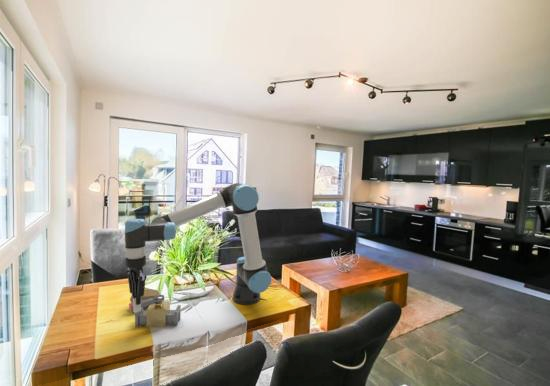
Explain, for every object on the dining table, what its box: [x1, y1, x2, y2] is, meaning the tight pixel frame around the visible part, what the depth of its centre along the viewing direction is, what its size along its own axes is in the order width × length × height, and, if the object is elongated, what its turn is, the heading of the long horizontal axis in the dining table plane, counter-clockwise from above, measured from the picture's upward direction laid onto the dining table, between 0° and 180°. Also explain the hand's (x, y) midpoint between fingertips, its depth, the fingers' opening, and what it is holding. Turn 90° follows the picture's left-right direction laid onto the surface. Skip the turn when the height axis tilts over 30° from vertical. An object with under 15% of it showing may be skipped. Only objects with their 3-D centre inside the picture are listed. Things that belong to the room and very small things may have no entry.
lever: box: [128, 294, 165, 312], centre depth 122 cm, size 14×5×2 cm, turn 135°
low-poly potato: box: [129, 287, 161, 309], centre depth 139 cm, size 15×11×12 cm
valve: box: [134, 301, 182, 328], centre depth 126 cm, size 18×7×10 cm, turn 96°
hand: (137, 310), depth 117 cm, fingers closed
